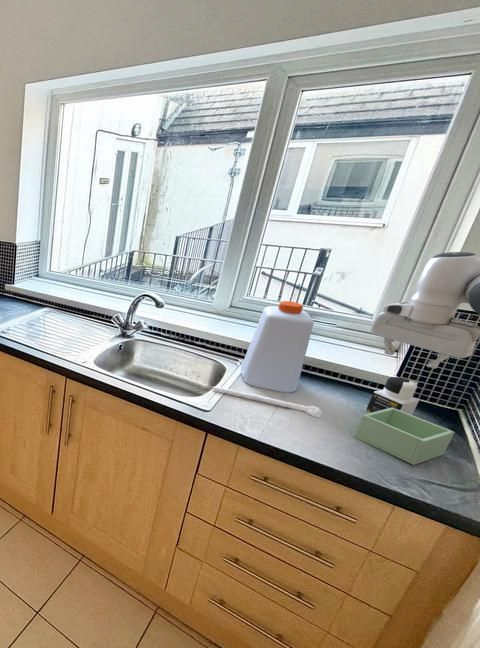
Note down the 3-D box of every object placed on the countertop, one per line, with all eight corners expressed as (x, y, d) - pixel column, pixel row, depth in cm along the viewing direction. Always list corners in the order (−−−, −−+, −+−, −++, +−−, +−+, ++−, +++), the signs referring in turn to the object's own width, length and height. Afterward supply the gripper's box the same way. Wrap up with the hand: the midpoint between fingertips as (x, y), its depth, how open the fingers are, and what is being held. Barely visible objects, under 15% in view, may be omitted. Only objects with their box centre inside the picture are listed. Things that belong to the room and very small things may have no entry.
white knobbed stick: (211, 393, 134) (213, 385, 133) (212, 388, 137) (214, 380, 136) (321, 420, 120) (324, 412, 119) (319, 413, 124) (322, 405, 122)
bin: (443, 454, 106) (454, 431, 103) (413, 465, 102) (424, 441, 99) (383, 428, 117) (392, 407, 114) (353, 436, 113) (362, 414, 110)
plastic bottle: (297, 397, 134) (328, 314, 123) (243, 386, 140) (267, 307, 129) (288, 376, 146) (314, 300, 135) (238, 367, 152) (260, 294, 141)
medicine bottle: (364, 411, 125) (380, 376, 120) (380, 408, 127) (396, 372, 122) (392, 425, 118) (410, 388, 114) (409, 421, 120) (427, 384, 116)
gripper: (492, 324, 103) (467, 374, 108) (390, 302, 121) (373, 346, 126) (477, 326, 101) (453, 377, 106) (377, 303, 119) (360, 348, 124)
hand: (409, 360), depth 116 cm, fingers open, 8 cm apart
